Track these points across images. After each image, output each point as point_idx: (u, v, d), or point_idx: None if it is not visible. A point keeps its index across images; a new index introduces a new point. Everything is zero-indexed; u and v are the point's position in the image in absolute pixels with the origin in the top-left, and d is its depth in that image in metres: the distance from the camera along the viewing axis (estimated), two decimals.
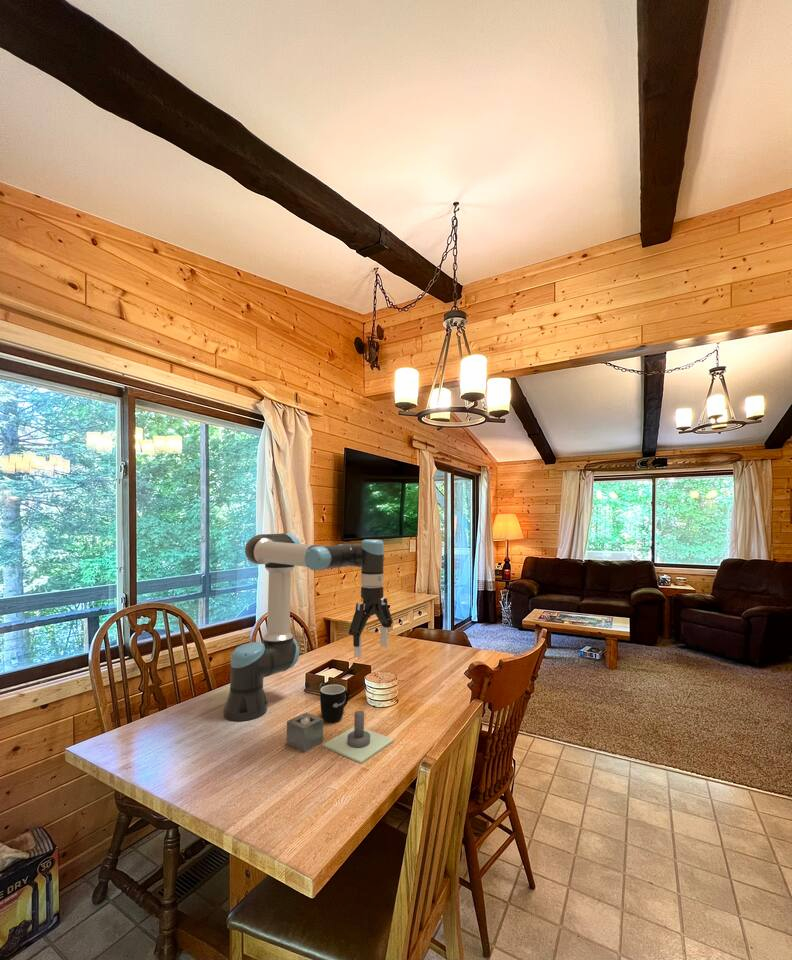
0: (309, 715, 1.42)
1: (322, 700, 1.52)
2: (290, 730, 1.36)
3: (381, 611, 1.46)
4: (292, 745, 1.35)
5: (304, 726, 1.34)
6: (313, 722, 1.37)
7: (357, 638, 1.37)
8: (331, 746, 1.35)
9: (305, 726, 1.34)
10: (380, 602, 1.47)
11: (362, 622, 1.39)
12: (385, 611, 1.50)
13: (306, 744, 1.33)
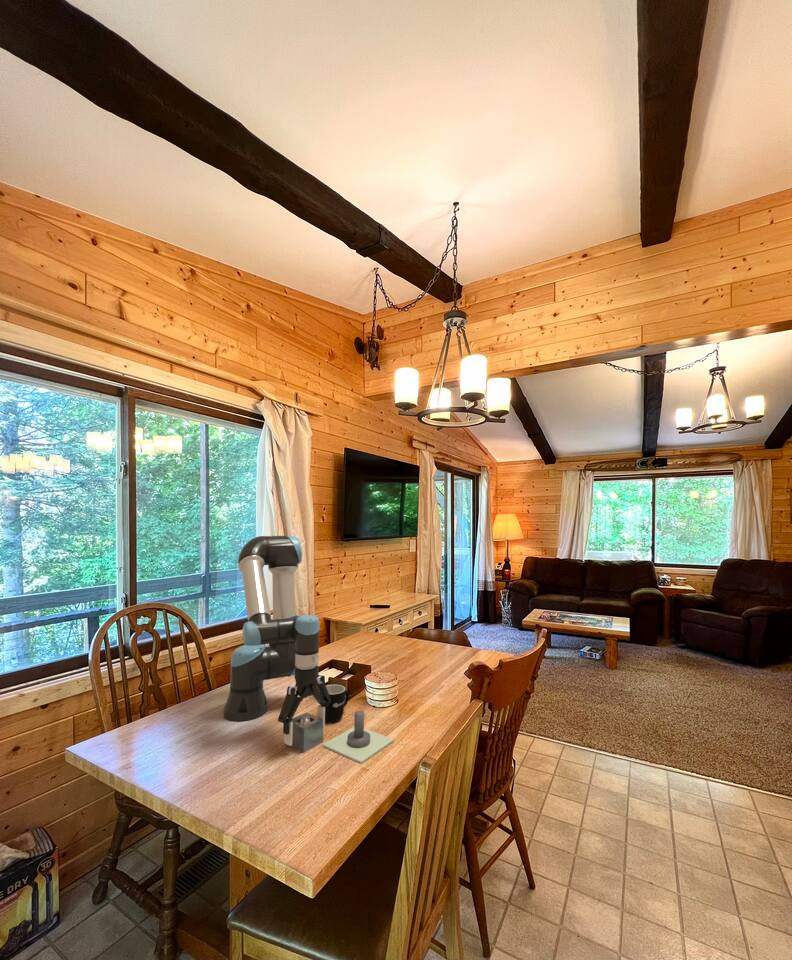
0: (309, 715, 1.42)
1: None
2: None
3: (316, 692, 1.40)
4: (292, 745, 1.35)
5: (304, 726, 1.34)
6: (313, 722, 1.37)
7: (287, 725, 1.31)
8: (331, 746, 1.35)
9: (305, 726, 1.34)
10: (316, 682, 1.41)
11: (293, 707, 1.34)
12: (322, 690, 1.44)
13: (306, 744, 1.33)
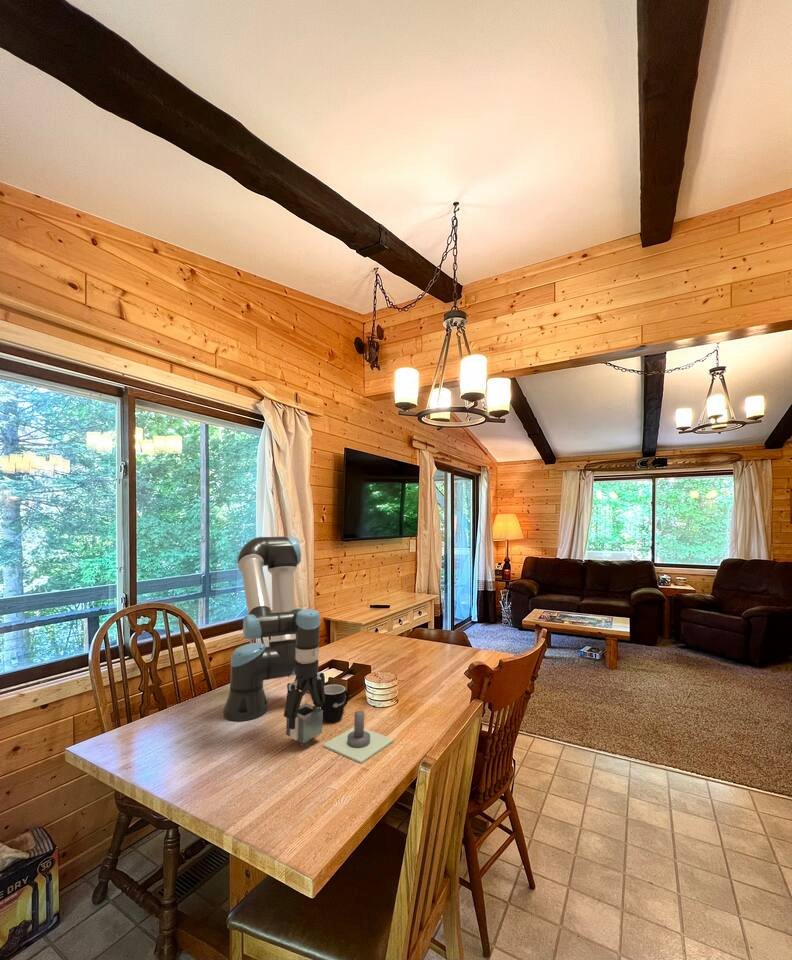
0: (309, 706, 1.42)
1: None
2: None
3: (314, 687, 1.40)
4: None
5: (304, 717, 1.35)
6: (313, 713, 1.37)
7: (293, 720, 1.34)
8: (331, 746, 1.35)
9: (305, 717, 1.35)
10: (315, 675, 1.42)
11: (296, 702, 1.35)
12: (319, 687, 1.44)
13: (306, 735, 1.34)
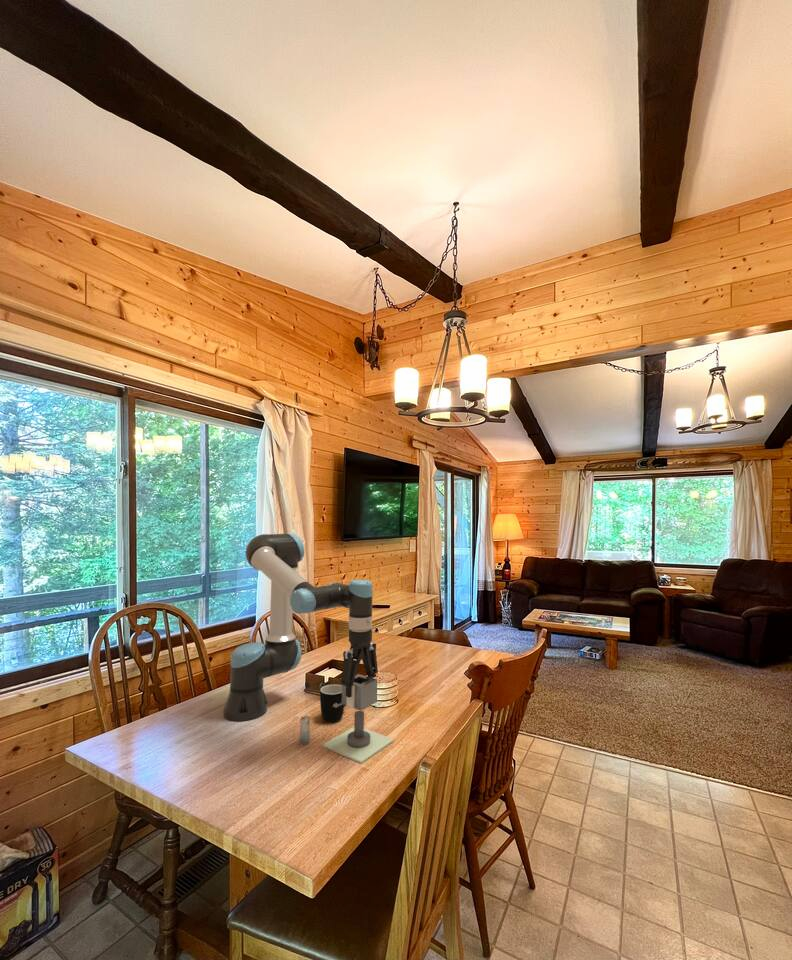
0: (362, 676, 1.42)
1: (322, 700, 1.52)
2: None
3: (368, 656, 1.41)
4: None
5: (360, 685, 1.35)
6: (368, 682, 1.38)
7: (349, 688, 1.34)
8: (331, 746, 1.35)
9: (361, 685, 1.35)
10: (369, 645, 1.42)
11: (352, 670, 1.36)
12: (372, 657, 1.44)
13: (363, 702, 1.34)
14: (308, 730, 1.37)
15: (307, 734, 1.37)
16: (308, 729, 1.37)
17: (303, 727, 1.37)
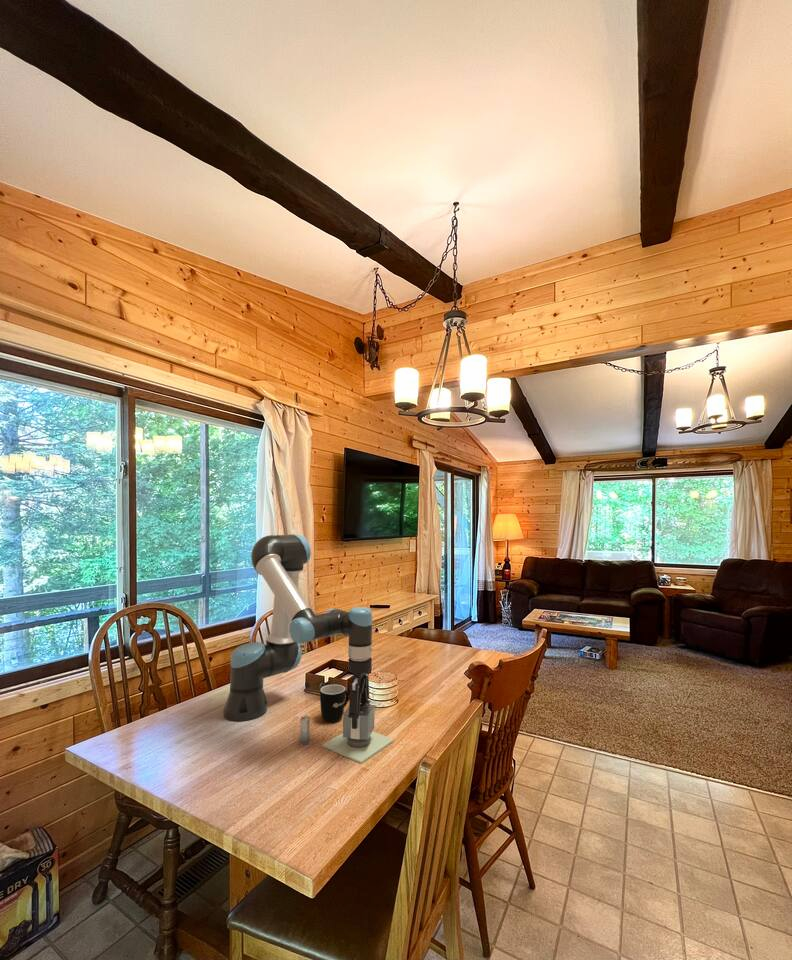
0: None
1: (322, 700, 1.52)
2: (348, 722, 1.35)
3: (366, 684, 1.41)
4: None
5: (365, 714, 1.35)
6: (369, 709, 1.38)
7: (356, 719, 1.33)
8: (331, 746, 1.35)
9: (366, 714, 1.35)
10: (365, 672, 1.42)
11: (358, 701, 1.34)
12: None
13: (368, 731, 1.34)
14: (308, 730, 1.37)
15: (307, 734, 1.37)
16: (308, 729, 1.37)
17: (303, 727, 1.37)
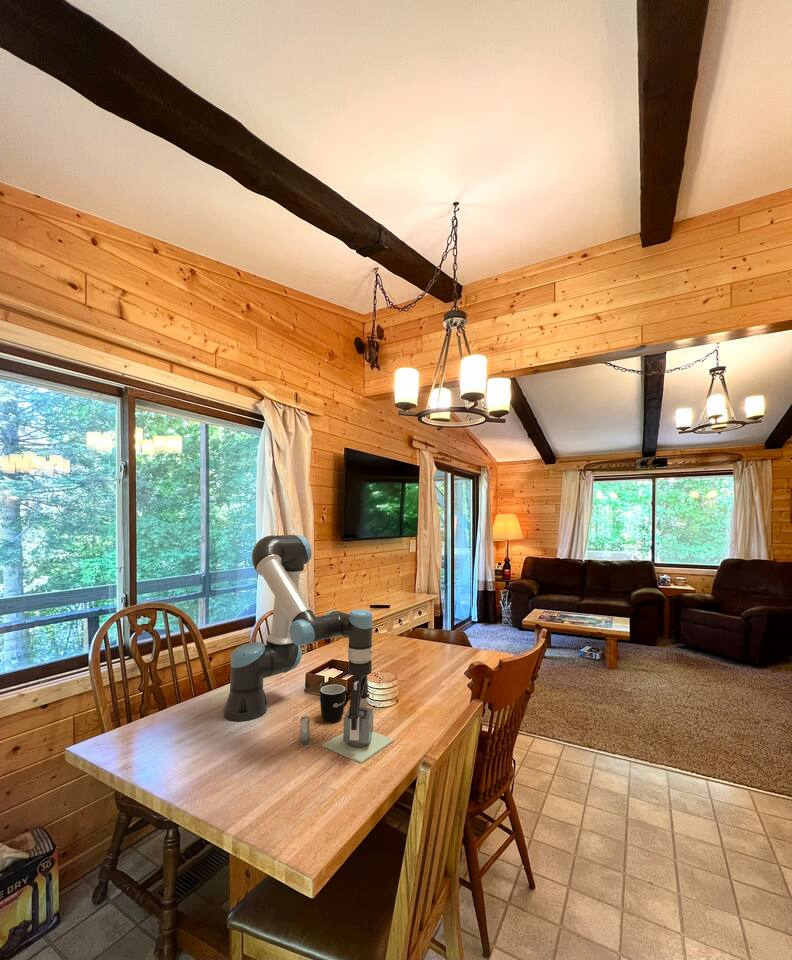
0: None
1: (322, 700, 1.52)
2: (349, 726, 1.34)
3: (366, 684, 1.42)
4: (351, 740, 1.34)
5: (366, 717, 1.35)
6: (369, 712, 1.38)
7: (356, 720, 1.31)
8: (331, 746, 1.35)
9: (367, 717, 1.35)
10: None
11: None
12: None
13: (369, 734, 1.35)
14: (308, 730, 1.37)
15: (307, 734, 1.37)
16: (308, 729, 1.37)
17: (303, 727, 1.37)
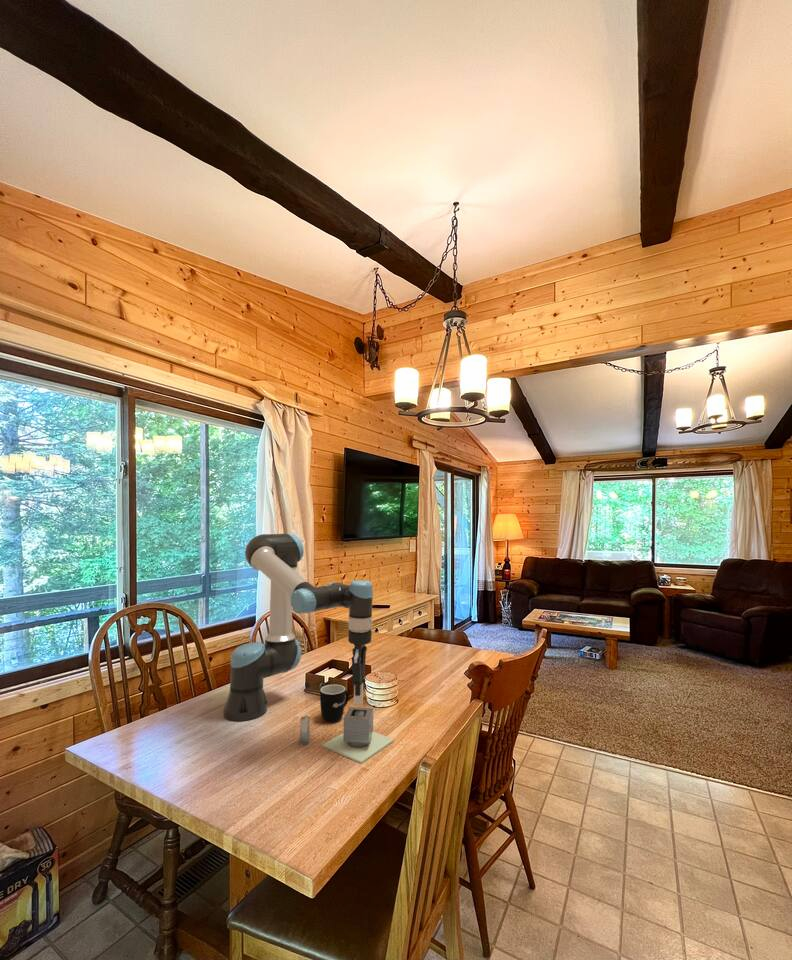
0: (356, 708, 1.42)
1: (322, 700, 1.52)
2: (349, 726, 1.34)
3: (365, 657, 1.42)
4: (351, 740, 1.34)
5: (366, 717, 1.35)
6: (369, 712, 1.38)
7: (359, 687, 1.39)
8: (331, 746, 1.35)
9: (367, 717, 1.35)
10: (364, 644, 1.44)
11: None
12: None
13: (369, 734, 1.35)
14: (308, 730, 1.37)
15: (307, 734, 1.37)
16: (308, 729, 1.37)
17: (303, 727, 1.37)
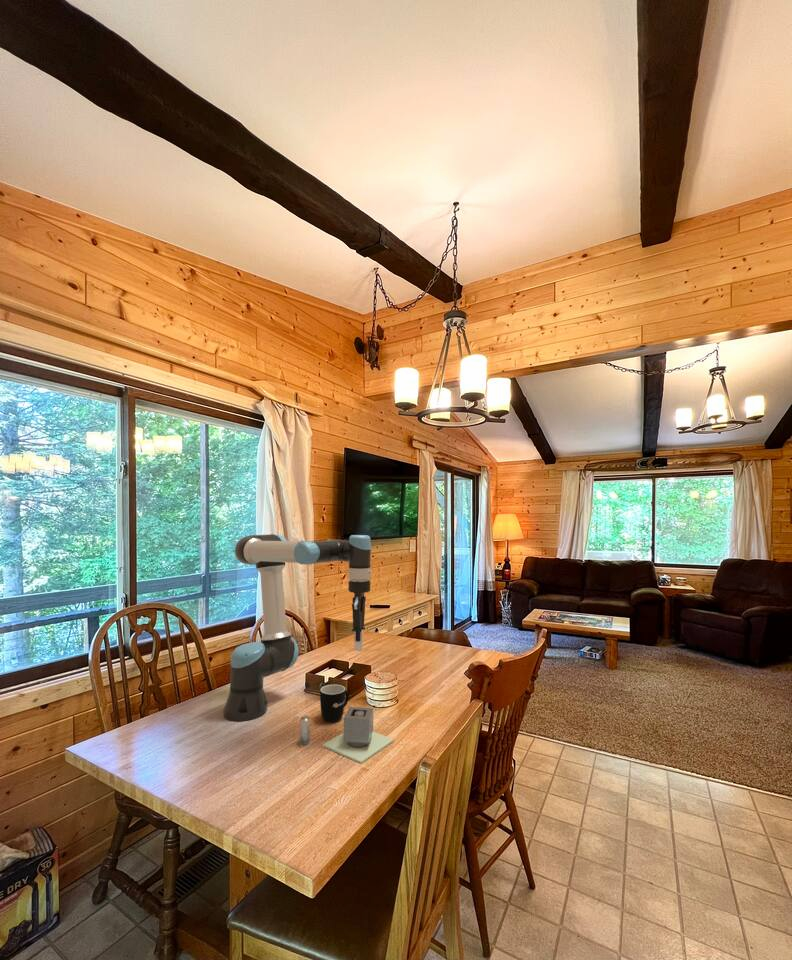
0: (356, 708, 1.42)
1: (322, 700, 1.52)
2: (349, 726, 1.34)
3: (364, 606, 1.50)
4: (351, 740, 1.34)
5: (366, 717, 1.35)
6: (369, 712, 1.38)
7: (359, 633, 1.47)
8: (331, 746, 1.35)
9: (367, 717, 1.35)
10: None
11: None
12: None
13: (369, 734, 1.35)
14: (308, 730, 1.37)
15: (307, 734, 1.37)
16: (308, 729, 1.37)
17: (303, 727, 1.37)
